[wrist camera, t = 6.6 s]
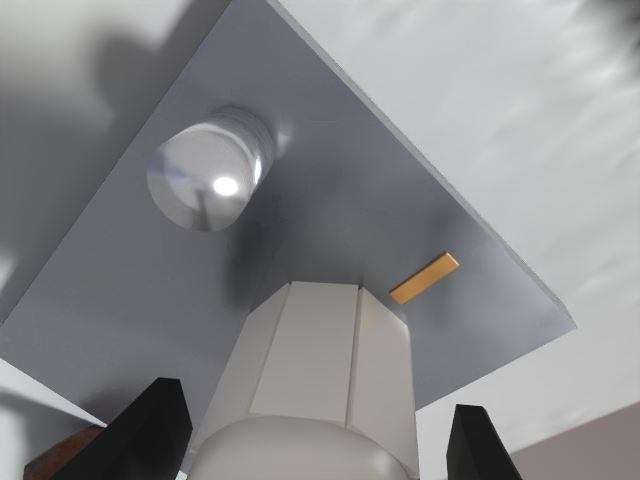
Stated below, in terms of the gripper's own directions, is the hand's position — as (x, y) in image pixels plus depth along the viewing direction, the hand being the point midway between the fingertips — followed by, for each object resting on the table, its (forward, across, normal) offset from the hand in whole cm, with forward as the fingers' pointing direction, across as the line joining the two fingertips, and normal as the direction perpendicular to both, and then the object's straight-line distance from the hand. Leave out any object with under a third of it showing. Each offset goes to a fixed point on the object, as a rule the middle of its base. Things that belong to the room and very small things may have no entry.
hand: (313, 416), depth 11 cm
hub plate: (+4, +3, 0) cm, 5 cm away
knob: (+3, 0, 0) cm, 3 cm away
